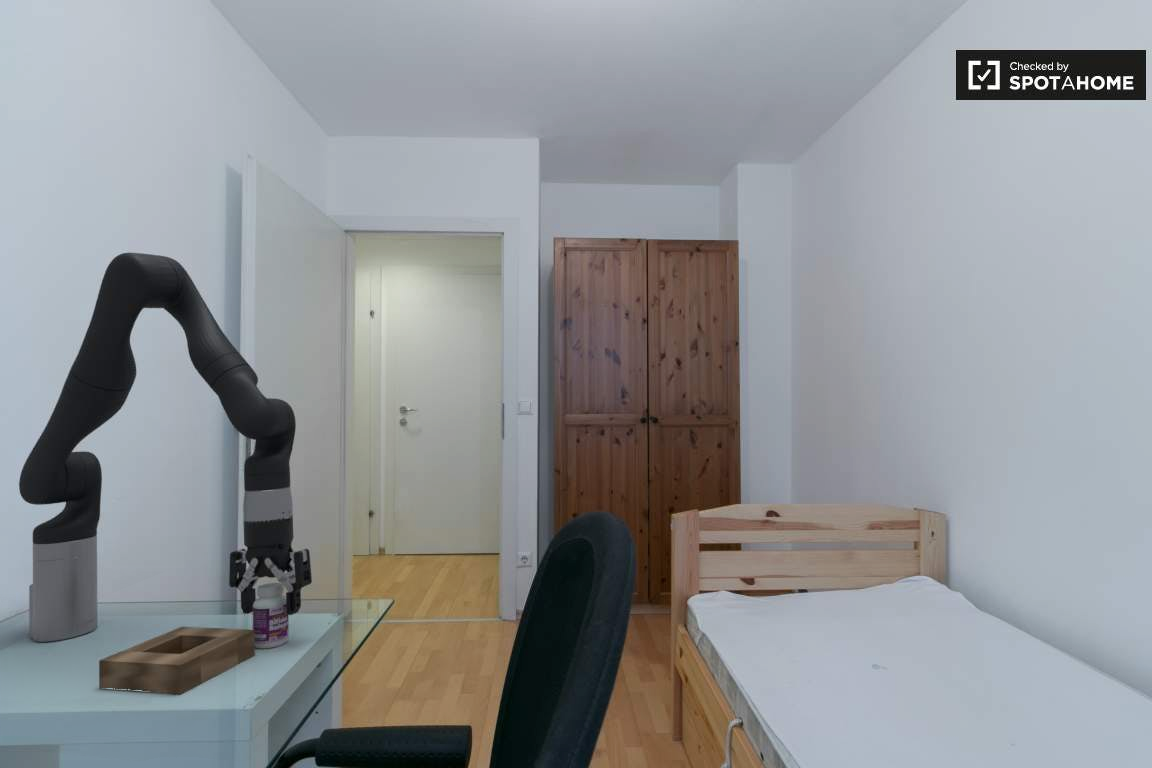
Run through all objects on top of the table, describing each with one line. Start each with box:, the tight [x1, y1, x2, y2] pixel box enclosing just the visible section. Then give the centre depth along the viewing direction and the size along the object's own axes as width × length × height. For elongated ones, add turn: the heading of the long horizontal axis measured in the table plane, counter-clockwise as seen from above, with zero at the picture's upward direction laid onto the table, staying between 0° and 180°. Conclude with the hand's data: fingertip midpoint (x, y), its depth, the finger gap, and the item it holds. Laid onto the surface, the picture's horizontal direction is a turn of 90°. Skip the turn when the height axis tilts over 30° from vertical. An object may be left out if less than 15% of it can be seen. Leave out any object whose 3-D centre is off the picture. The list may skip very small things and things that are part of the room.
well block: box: [98, 626, 256, 695], centre depth 94 cm, size 14×14×4 cm
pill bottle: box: [252, 582, 290, 649], centre depth 104 cm, size 5×5×10 cm
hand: (271, 612), depth 104 cm, fingers open, 8 cm apart
